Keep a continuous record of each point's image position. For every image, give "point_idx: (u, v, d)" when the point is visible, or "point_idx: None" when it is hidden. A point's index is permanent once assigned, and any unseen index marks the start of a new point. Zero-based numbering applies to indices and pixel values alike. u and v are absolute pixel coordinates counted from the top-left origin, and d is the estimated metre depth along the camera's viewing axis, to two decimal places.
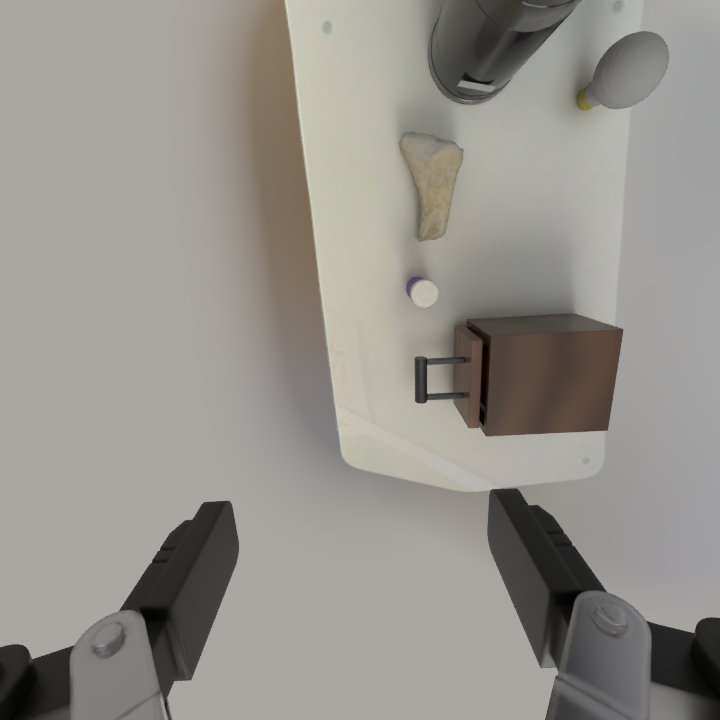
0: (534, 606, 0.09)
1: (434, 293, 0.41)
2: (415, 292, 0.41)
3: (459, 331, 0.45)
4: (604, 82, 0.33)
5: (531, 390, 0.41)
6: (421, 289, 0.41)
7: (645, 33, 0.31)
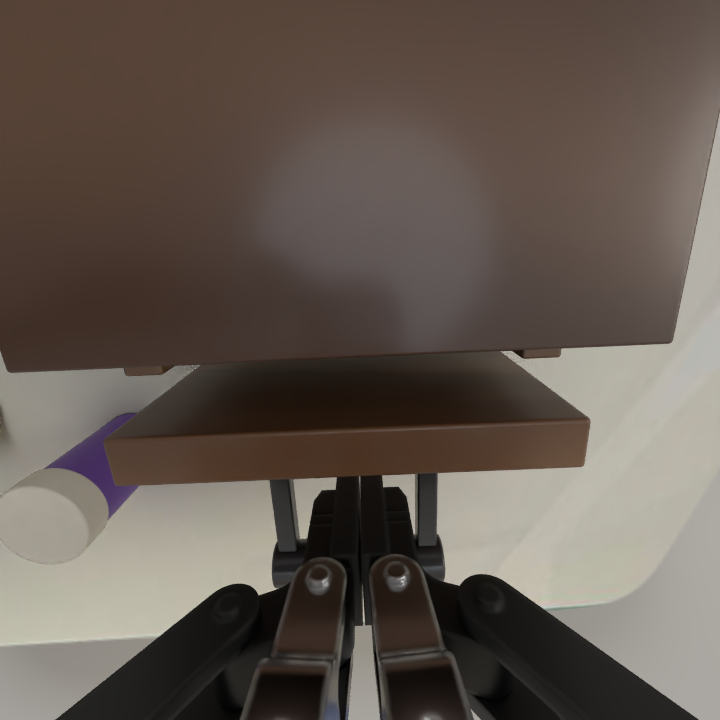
0: None
1: (29, 499, 0.12)
2: (42, 554, 0.12)
3: None
4: None
5: (352, 32, 0.05)
6: (27, 538, 0.12)
7: None
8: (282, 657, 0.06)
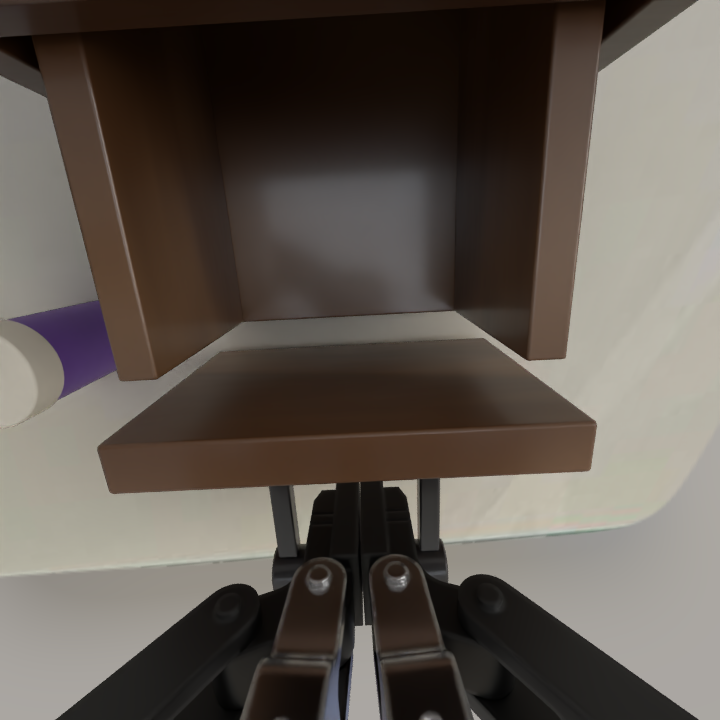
0: None
1: None
2: None
3: None
4: None
5: None
6: None
7: None
8: (282, 657, 0.06)
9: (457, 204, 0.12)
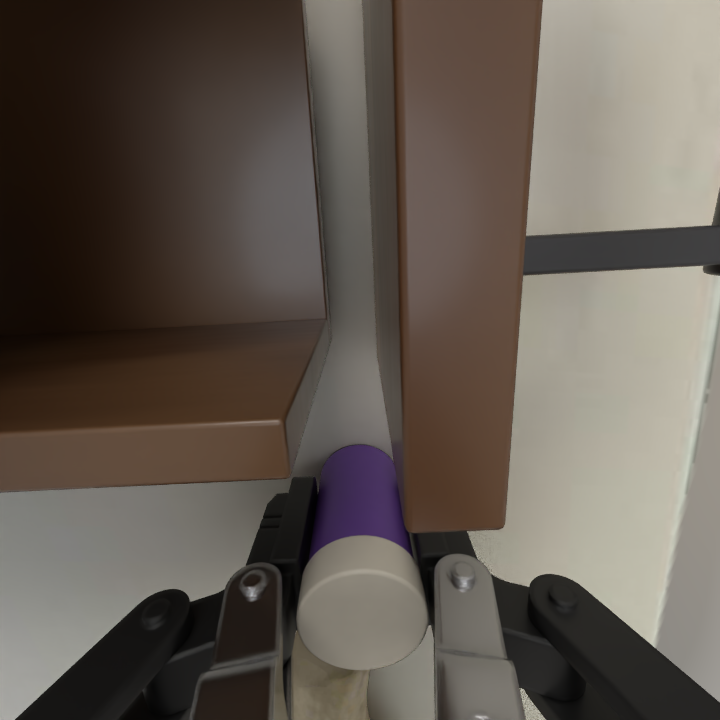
0: None
1: (316, 627, 0.08)
2: (408, 629, 0.08)
3: None
4: None
5: None
6: (380, 640, 0.09)
7: None
8: (223, 667, 0.06)
9: None
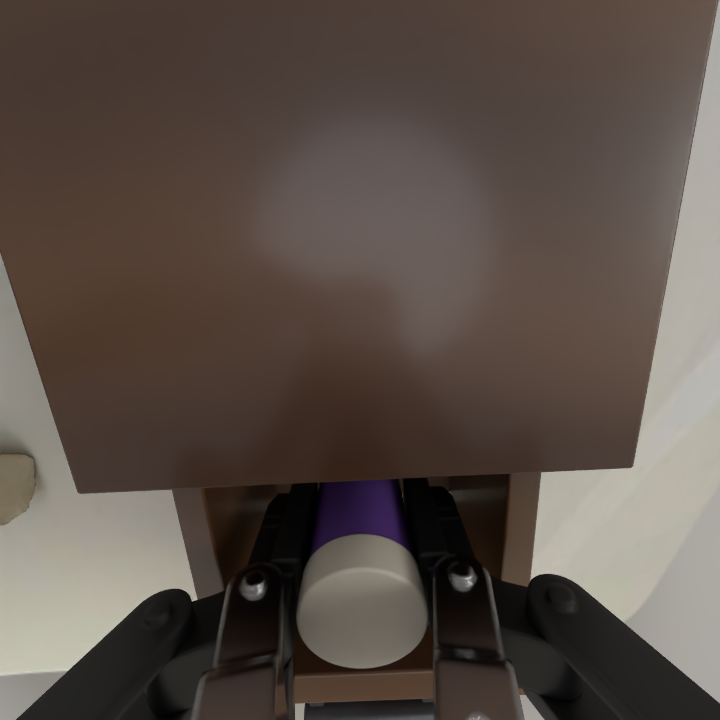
0: None
1: (316, 625, 0.08)
2: (408, 627, 0.08)
3: None
4: None
5: (364, 246, 0.06)
6: (380, 638, 0.09)
7: None
8: (224, 666, 0.06)
9: None
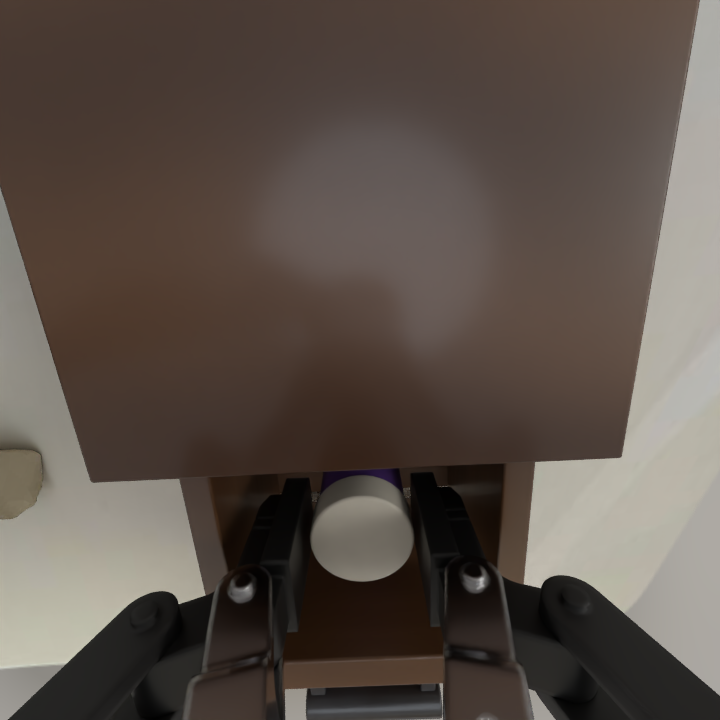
0: (426, 572, 0.10)
1: (325, 543, 0.11)
2: (398, 546, 0.11)
3: None
4: None
5: (365, 246, 0.07)
6: (376, 555, 0.11)
7: None
8: (214, 669, 0.06)
9: None
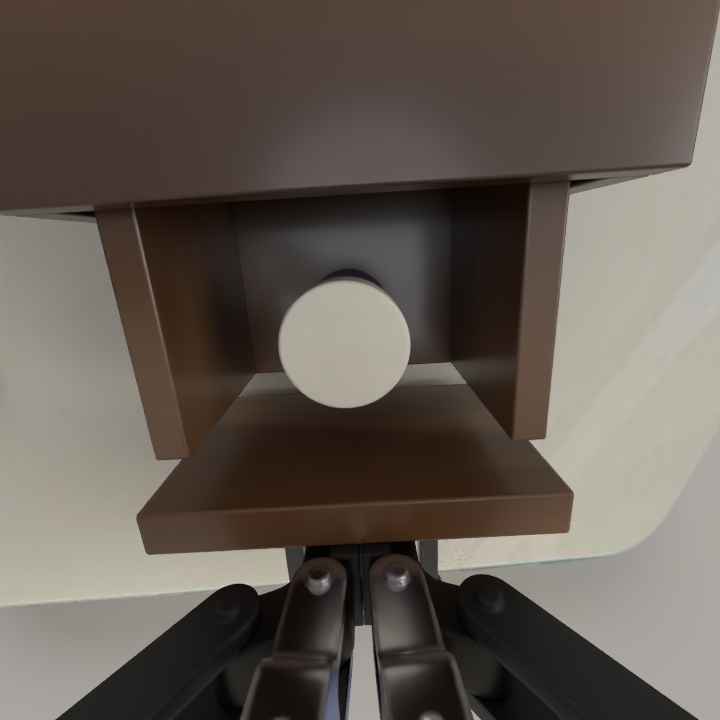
0: None
1: (297, 351, 0.08)
2: (390, 355, 0.08)
3: None
4: None
5: None
6: (362, 369, 0.09)
7: None
8: (282, 657, 0.06)
9: (452, 269, 0.13)
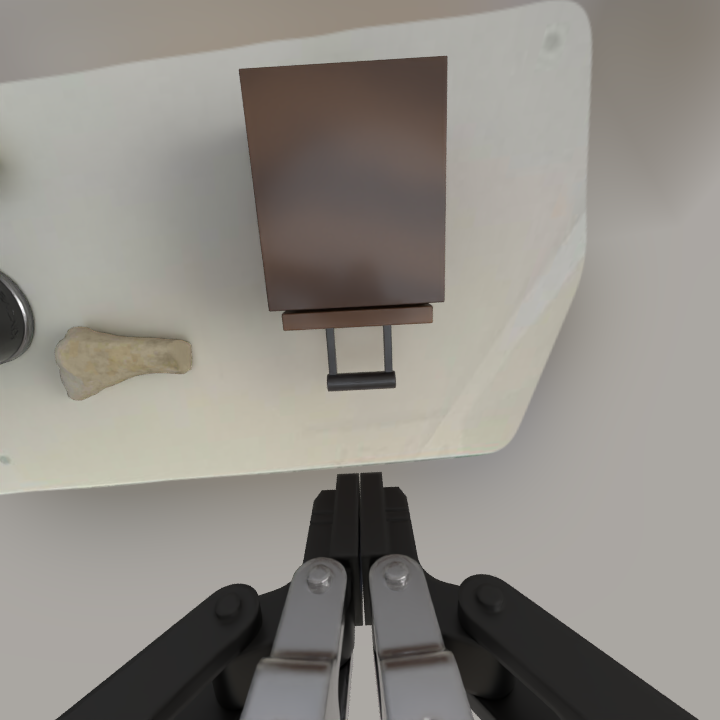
0: None
1: None
2: None
3: None
4: None
5: (360, 231, 0.23)
6: None
7: None
8: (282, 656, 0.06)
9: None
